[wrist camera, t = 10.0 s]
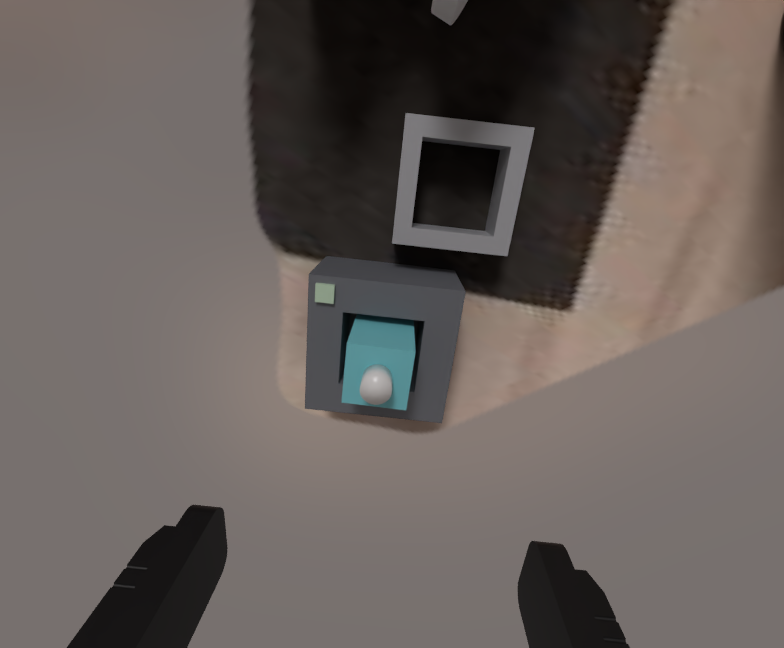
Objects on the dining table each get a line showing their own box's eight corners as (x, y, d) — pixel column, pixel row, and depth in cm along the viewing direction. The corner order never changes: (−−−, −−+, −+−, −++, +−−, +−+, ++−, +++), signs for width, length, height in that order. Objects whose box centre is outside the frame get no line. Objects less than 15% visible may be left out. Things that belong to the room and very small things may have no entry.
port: (454, 270, 30) (466, 292, 24) (435, 382, 34) (442, 425, 28) (326, 256, 30) (307, 275, 24) (321, 369, 34) (303, 410, 28)
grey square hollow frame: (521, 132, 27) (534, 127, 24) (497, 248, 30) (507, 256, 27) (405, 119, 27) (405, 112, 24) (393, 237, 29) (392, 243, 27)
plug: (412, 307, 30) (416, 363, 21) (405, 354, 31) (406, 424, 22) (361, 301, 30) (342, 354, 21) (356, 348, 31) (337, 416, 22)
